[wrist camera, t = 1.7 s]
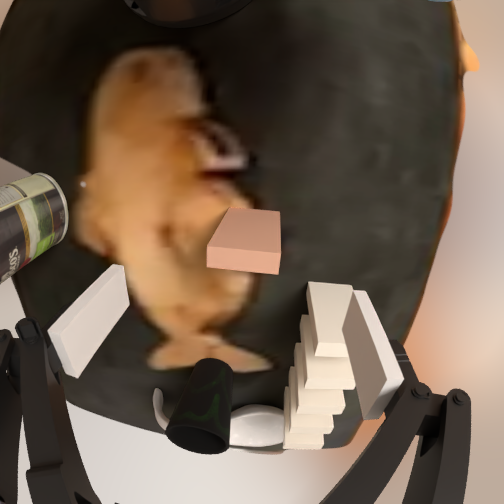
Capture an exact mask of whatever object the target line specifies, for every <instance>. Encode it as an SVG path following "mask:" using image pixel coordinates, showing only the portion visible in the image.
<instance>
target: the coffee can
mask: <svg viewBox="0 0 504 504" xmlns="http://www.w3.org/2000/svg"><path fill="white" fill-rule="evenodd" d="M68 219H69V215H68V207H67V202H66V199H65V196H64V194H63V191H62V190H61V188H60V186H59V185H58V183H57V182H56V181H55V180H54V179H53V178H52V177H50V176H49V175H47V174H44V173H36V174H33V175H31V176H29V177H26V178H23V179H20V180H17V181H14V182H11V183H9V184H6V185H3V186H1V187H0V284H1V283H2V282H4V281H5V280H6V279H8V278H9V277H10V276H11V275H13V274H14V273H15V272H17V271H18V270H19V269H21V268H22V267H23V266H25V265H26V264H27V263H29V262H30V261H32V260H33V259H34V258H36V257H37V256H39V255H40V254H42V253H43V252H44V251H46V250H47V249H49V248H50V247H52V246H54V245H56V244H58V243H59V242H60V241H61V240H62V239H63V238H64V236H65V234H66V231H67V228H68Z"/></svg>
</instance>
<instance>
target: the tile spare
mask: <svg viewBox="0 0 504 504" xmlns="http://www.w3.org/2000/svg"><path fill="white" fill-rule="evenodd" d="M280 257H281V236H280V212H277V211H267V210H256V209H245V208H234V207H229V209H228V211H227V212H226V214H225V216H224V217H223V219H222V221H221V223H220V224H219V226H218V228H217V229H216V231H215V233H214V235H213V236H212V238H211V240H210V242H209V243H208V245H207V267H211V268H220V269H229V270H238V271H248V272H258V273H268V274H278V272H279V265H280Z"/></svg>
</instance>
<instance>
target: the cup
mask: <svg viewBox="0 0 504 504" xmlns="http://www.w3.org/2000/svg"><path fill="white" fill-rule="evenodd" d="M232 386H233V370H232V369H231V367H230V366H229V365H228V364H226V363H225V362H223V361H221V360H218V359H214V358H205V359H202V360H200V361H198V362H197V363H196V365H195V367H194V369H193V372H192V374H191V376H190V378H189V380H188V382H187V384H186V387H185V389H184V391H183V393H182V395H181V397H180V400H179V402H178V404H177V406H176V408H175V410H174V412H173V415H172V417H171V419H170V421H169V423H168V425H167V427H166V430H165V434H166V436H167V437H168V439H169V440H170V441H171V442H172V443H174V444H176V445H177V446H179V447H181V448H183V449H186V450H188V451H191V452H195V453H201V454H219V453H222V452H224V451H226V450H227V449H228V448H229V445H230V424H231V405H232Z"/></svg>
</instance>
